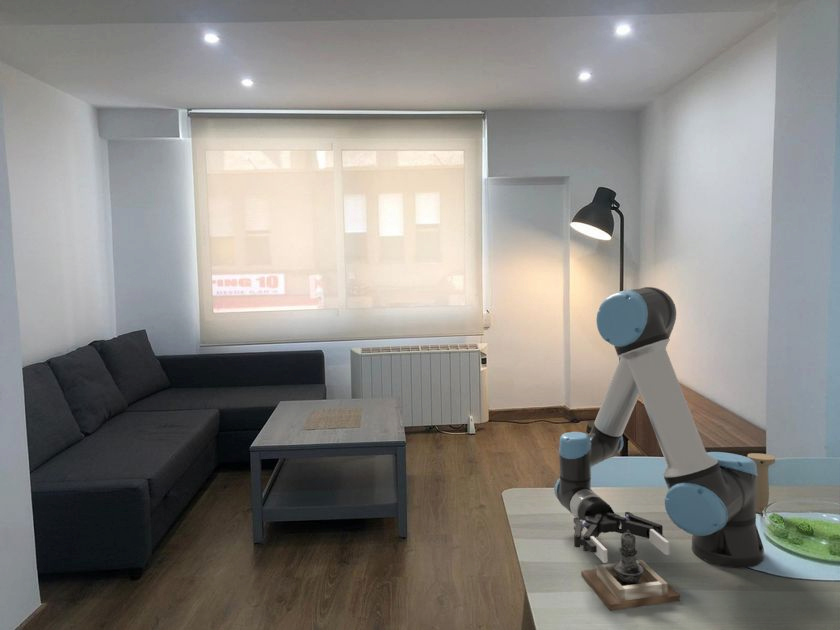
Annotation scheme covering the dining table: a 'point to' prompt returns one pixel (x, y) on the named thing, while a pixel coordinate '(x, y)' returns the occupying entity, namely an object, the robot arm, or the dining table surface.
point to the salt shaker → (628, 562)
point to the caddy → (629, 588)
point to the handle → (762, 479)
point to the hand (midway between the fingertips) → (636, 552)
